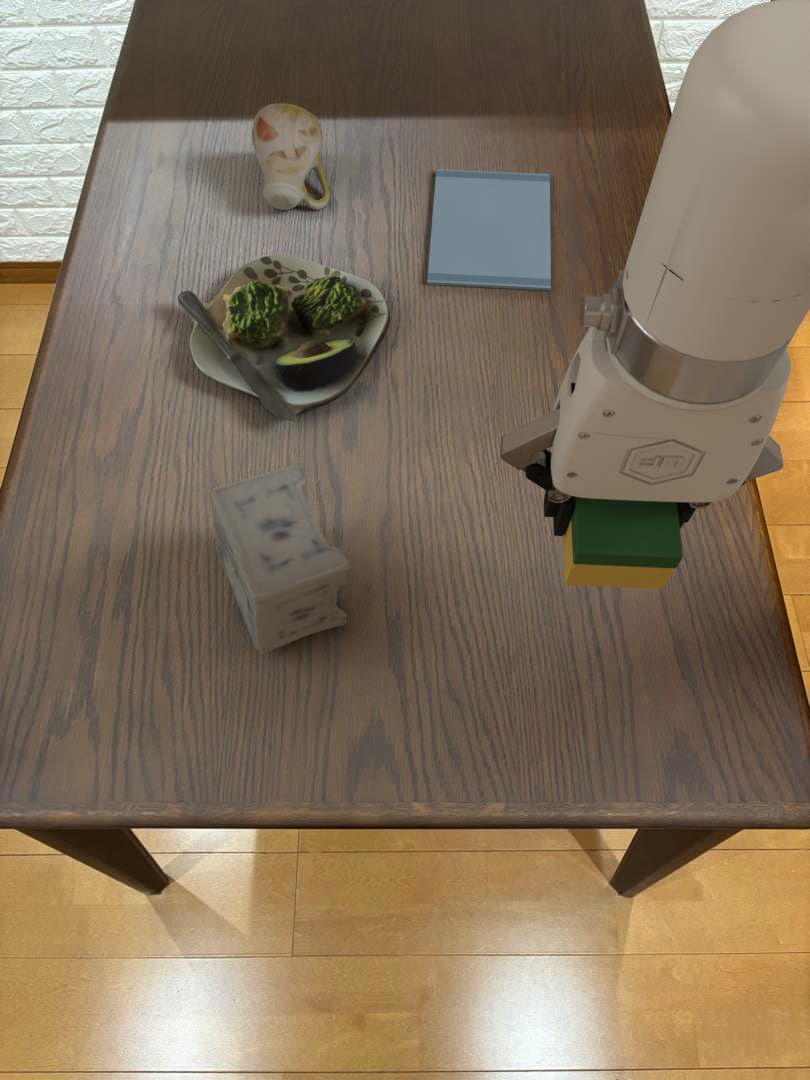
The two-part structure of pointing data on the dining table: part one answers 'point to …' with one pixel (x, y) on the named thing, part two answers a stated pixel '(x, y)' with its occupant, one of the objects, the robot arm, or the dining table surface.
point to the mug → (288, 155)
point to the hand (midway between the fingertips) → (611, 516)
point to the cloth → (490, 230)
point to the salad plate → (288, 332)
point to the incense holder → (277, 558)
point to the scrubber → (622, 543)
